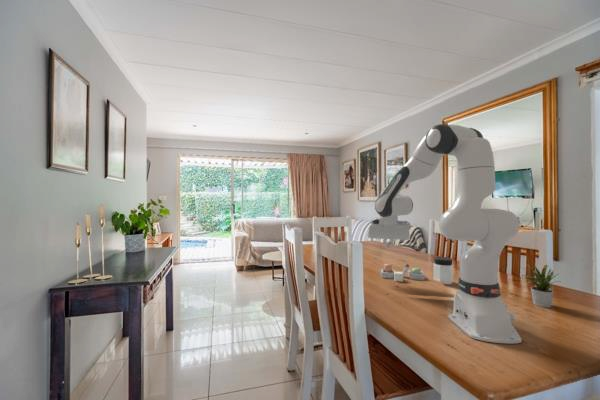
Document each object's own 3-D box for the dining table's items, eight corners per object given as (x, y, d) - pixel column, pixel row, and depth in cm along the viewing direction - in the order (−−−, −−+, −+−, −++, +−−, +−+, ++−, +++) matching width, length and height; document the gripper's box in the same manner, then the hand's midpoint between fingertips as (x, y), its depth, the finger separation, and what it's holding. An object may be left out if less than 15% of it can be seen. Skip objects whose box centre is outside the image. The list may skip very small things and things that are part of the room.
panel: (430, 286, 135) (429, 278, 135) (382, 283, 140) (382, 275, 140) (424, 278, 149) (424, 270, 149) (380, 276, 154) (380, 268, 154)
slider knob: (403, 281, 140) (403, 273, 139) (394, 281, 140) (394, 273, 140) (402, 279, 143) (402, 271, 143) (393, 278, 144) (393, 271, 144)
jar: (448, 286, 136) (448, 261, 136) (431, 282, 142) (431, 258, 142) (455, 282, 142) (455, 258, 142) (438, 278, 148) (438, 256, 148)
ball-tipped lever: (404, 277, 146) (410, 265, 146) (400, 276, 147) (406, 264, 146) (403, 276, 149) (409, 264, 148) (399, 274, 149) (405, 263, 148)
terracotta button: (392, 273, 147) (392, 265, 147) (384, 272, 148) (384, 265, 148) (391, 271, 151) (391, 263, 151) (383, 270, 152) (383, 263, 152)
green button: (421, 277, 144) (421, 269, 144) (412, 277, 145) (412, 269, 145) (419, 275, 148) (419, 267, 148) (411, 275, 148) (411, 267, 148)
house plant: (521, 294, 123) (521, 257, 122) (565, 303, 113) (565, 262, 113) (515, 304, 113) (515, 263, 112) (563, 314, 103) (563, 269, 103)
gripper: (410, 220, 143) (410, 247, 143) (369, 219, 150) (369, 245, 151) (410, 221, 137) (410, 250, 137) (367, 220, 144) (367, 247, 145)
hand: (388, 247), depth 144 cm, fingers closed
